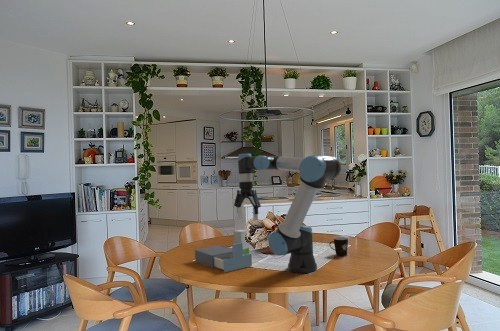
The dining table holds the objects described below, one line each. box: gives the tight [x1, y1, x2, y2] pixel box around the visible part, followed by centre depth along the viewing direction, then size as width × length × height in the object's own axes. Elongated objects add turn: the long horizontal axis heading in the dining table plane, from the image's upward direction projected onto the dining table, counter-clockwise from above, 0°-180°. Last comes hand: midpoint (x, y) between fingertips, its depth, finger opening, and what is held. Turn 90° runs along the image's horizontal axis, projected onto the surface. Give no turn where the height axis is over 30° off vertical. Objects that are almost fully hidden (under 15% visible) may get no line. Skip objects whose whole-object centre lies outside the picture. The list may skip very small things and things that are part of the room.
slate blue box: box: [194, 244, 232, 269], centre depth 206 cm, size 20×18×7 cm
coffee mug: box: [328, 236, 349, 257], centre depth 212 cm, size 12×9×10 cm
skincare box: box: [232, 229, 251, 255], centre depth 221 cm, size 8×7×16 cm
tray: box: [213, 243, 253, 273], centre depth 197 cm, size 20×18×14 cm
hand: (247, 219), depth 196 cm, fingers open, 13 cm apart
